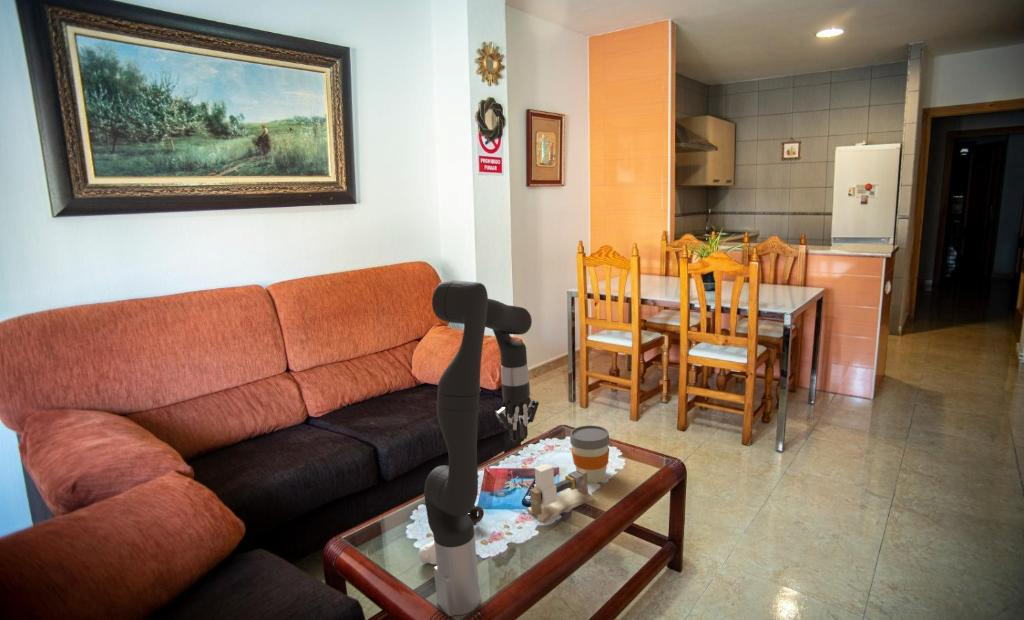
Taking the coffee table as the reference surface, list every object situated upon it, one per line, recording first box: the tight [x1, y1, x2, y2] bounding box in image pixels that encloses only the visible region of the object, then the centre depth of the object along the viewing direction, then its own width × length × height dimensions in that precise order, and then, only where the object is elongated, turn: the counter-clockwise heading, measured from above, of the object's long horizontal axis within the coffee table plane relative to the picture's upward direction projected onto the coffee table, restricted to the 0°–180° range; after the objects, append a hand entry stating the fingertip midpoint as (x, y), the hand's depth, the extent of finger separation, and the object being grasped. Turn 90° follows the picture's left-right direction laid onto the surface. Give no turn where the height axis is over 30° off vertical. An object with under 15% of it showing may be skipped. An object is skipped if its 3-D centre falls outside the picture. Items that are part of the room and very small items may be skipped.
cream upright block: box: [533, 463, 558, 506], centre depth 174 cm, size 4×5×10 cm
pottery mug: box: [467, 504, 485, 526], centre depth 172 cm, size 12×10×8 cm
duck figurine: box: [417, 531, 437, 566], centre depth 155 cm, size 12×8×11 cm
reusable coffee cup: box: [569, 424, 611, 484], centre depth 193 cm, size 13×12×15 cm
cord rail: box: [526, 469, 594, 523], centre depth 178 cm, size 19×7×8 cm, turn 124°
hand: (519, 439), depth 167 cm, fingers open, 2 cm apart
